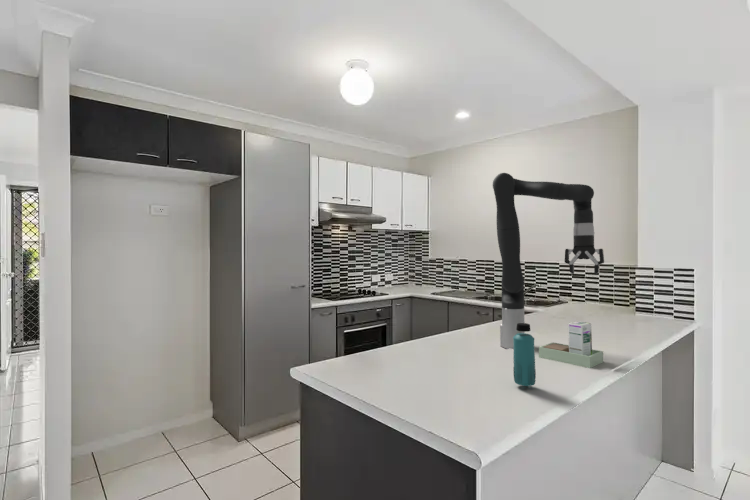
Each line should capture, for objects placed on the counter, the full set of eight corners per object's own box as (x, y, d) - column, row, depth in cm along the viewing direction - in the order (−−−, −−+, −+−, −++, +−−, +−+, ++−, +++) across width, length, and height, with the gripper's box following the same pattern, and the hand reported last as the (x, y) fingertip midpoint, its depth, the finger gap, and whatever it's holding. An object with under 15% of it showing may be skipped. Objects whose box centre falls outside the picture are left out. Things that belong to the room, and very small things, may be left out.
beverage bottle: (539, 391, 125) (538, 325, 124) (517, 391, 125) (516, 325, 125) (531, 383, 131) (530, 321, 131) (510, 384, 131) (509, 321, 131)
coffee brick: (543, 357, 160) (543, 346, 160) (553, 353, 165) (553, 343, 165) (561, 360, 154) (561, 350, 154) (571, 356, 160) (571, 346, 159)
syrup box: (583, 364, 149) (582, 324, 149) (568, 360, 154) (567, 322, 154) (592, 362, 152) (592, 323, 152) (577, 358, 157) (577, 320, 157)
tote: (538, 358, 160) (538, 347, 160) (553, 353, 167) (553, 342, 167) (590, 369, 145) (589, 356, 145) (603, 363, 152) (603, 351, 152)
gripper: (562, 234, 169) (563, 274, 169) (602, 233, 161) (602, 275, 161) (566, 235, 175) (567, 273, 175) (604, 234, 167) (605, 274, 167)
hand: (584, 274), depth 168 cm, fingers open, 8 cm apart
